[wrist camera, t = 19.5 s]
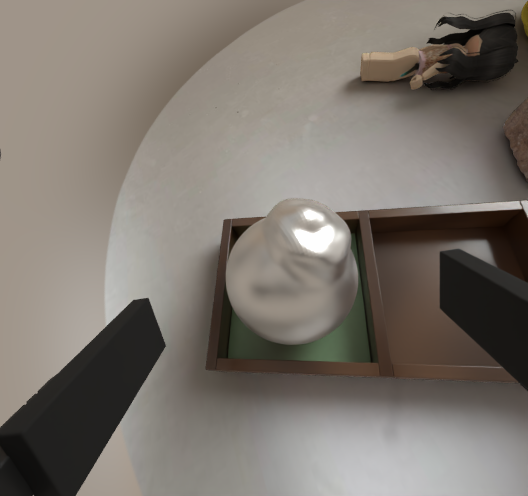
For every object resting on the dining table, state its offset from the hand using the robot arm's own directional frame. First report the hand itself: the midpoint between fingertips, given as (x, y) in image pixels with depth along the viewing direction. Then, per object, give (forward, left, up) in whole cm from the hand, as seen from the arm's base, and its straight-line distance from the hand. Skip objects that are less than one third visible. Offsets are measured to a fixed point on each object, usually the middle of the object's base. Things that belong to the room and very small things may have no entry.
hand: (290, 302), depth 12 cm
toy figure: (+15, +29, -11) cm, 35 cm away
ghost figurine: (0, +3, -10) cm, 11 cm away
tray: (+5, +3, -11) cm, 12 cm away
